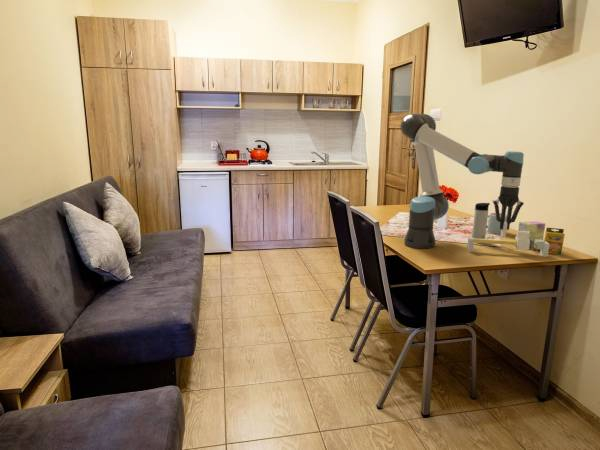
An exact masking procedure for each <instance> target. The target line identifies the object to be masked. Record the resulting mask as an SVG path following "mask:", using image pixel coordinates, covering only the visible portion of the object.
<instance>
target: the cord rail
mask: <svg viewBox="0 0 600 450" xmlns="http://www.w3.org/2000/svg"><path fill="white" fill-rule="evenodd" d="M529 240H530V245H529V250H534V249H535V250H540V252H539V254H540V255H541V256H542V257H545V258H546V257H548V255H549V253H548V251H549V243H548V242H545V241H544V239H543V240H537V239H535V242H534V240H533V239H529ZM476 243H477V244H489V245H490V244H491V245H492V244H494V245H509V246H510V245H511V246H514V245H517V241H515V240H508V239H507V240H505V239H491V238H490V239H489V238H485V239H475V238H473V237H472V236H468V238H467V249H466V251H468V253H469V252H472V253H473V252H474V246H475V244H476Z"/></svg>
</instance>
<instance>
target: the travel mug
mask: <svg viewBox="0 0 600 450" xmlns="http://www.w3.org/2000/svg"><path fill="white" fill-rule="evenodd" d="M490 205H491V203H490V202H478V203H475V206H474V215H473V224H472V233H471V234H472V235H471V237H473V238H475V239H486V234H487V228H486V226H488V224H487V223H488V215H489V206H490Z"/></svg>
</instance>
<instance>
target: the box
mask: <svg viewBox="0 0 600 450" xmlns="http://www.w3.org/2000/svg"><path fill="white" fill-rule="evenodd" d="M545 227H546V223H544V222H542V221H536V220H535V221H519V223H518V230H517V231H526V232H530V235H529V239H533V240H534V242H535V239H537V240H543V241H544V237H545V229H546V228H545Z"/></svg>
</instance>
